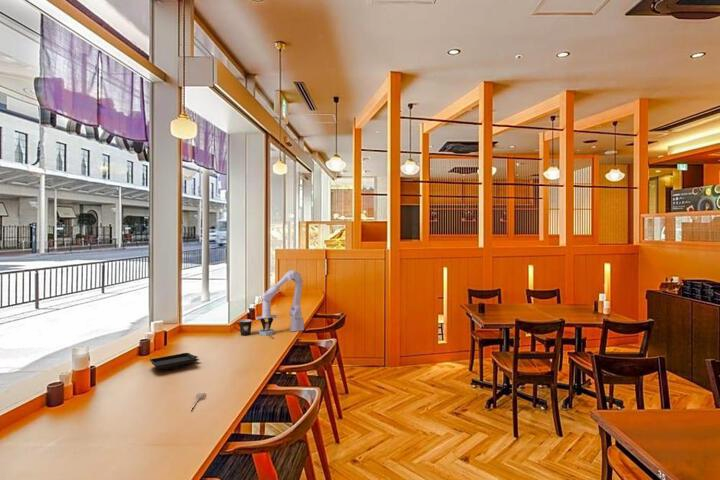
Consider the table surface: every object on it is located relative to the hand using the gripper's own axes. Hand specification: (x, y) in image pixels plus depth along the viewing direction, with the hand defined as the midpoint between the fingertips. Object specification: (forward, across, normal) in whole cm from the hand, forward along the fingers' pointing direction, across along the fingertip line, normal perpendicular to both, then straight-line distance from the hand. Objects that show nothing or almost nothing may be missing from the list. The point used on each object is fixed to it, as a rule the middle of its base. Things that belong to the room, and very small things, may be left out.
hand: (266, 329), depth 297 cm
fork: (+4, +61, +100) cm, 117 cm away
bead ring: (+3, 0, 0) cm, 3 cm away
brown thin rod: (+3, 0, +11) cm, 11 cm away
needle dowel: (+2, 0, 0) cm, 2 cm away
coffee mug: (+4, +15, -5) cm, 16 cm away
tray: (+4, +63, +45) cm, 78 cm away
